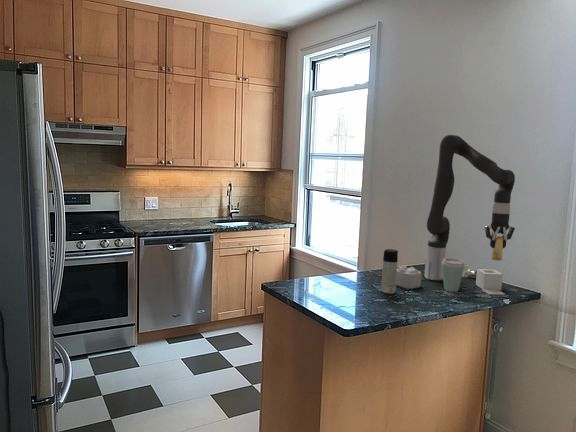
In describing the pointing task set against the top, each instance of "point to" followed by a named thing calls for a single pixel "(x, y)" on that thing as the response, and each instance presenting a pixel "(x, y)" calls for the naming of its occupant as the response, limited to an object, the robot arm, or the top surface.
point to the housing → (489, 279)
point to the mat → (494, 292)
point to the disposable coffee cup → (452, 273)
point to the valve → (468, 271)
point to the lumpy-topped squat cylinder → (408, 277)
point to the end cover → (498, 248)
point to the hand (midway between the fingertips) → (497, 247)
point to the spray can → (389, 271)
